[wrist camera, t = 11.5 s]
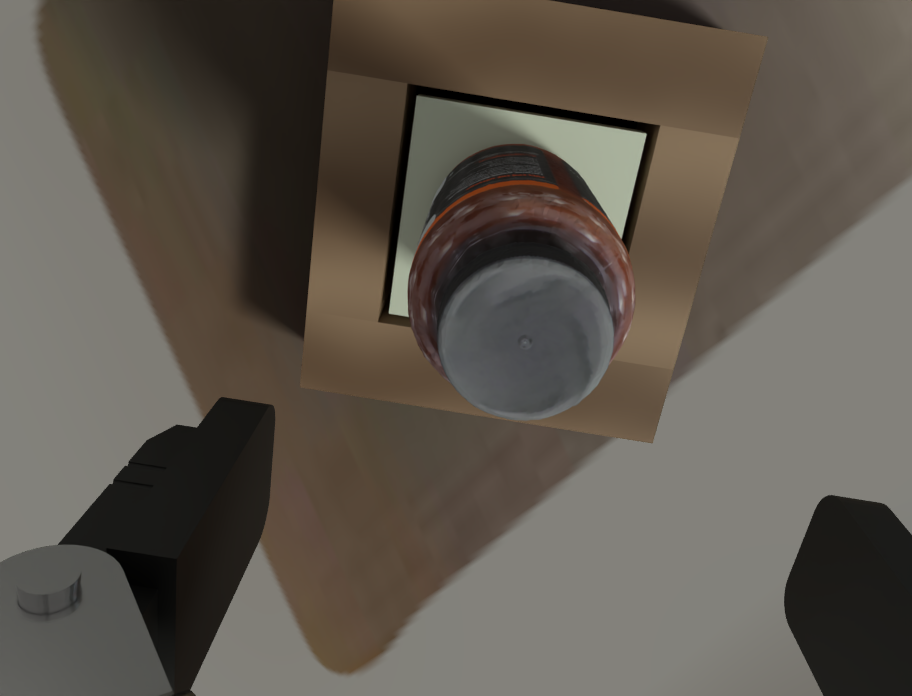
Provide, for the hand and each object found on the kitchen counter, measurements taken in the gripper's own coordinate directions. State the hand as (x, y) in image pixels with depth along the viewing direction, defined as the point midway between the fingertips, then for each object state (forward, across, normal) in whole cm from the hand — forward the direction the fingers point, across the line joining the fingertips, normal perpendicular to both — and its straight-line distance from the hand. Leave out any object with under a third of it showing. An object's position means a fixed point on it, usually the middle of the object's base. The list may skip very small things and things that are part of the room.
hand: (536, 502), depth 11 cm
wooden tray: (+21, 0, 0) cm, 21 cm away
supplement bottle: (+18, 0, 0) cm, 18 cm away
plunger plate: (+19, 0, 0) cm, 19 cm away
